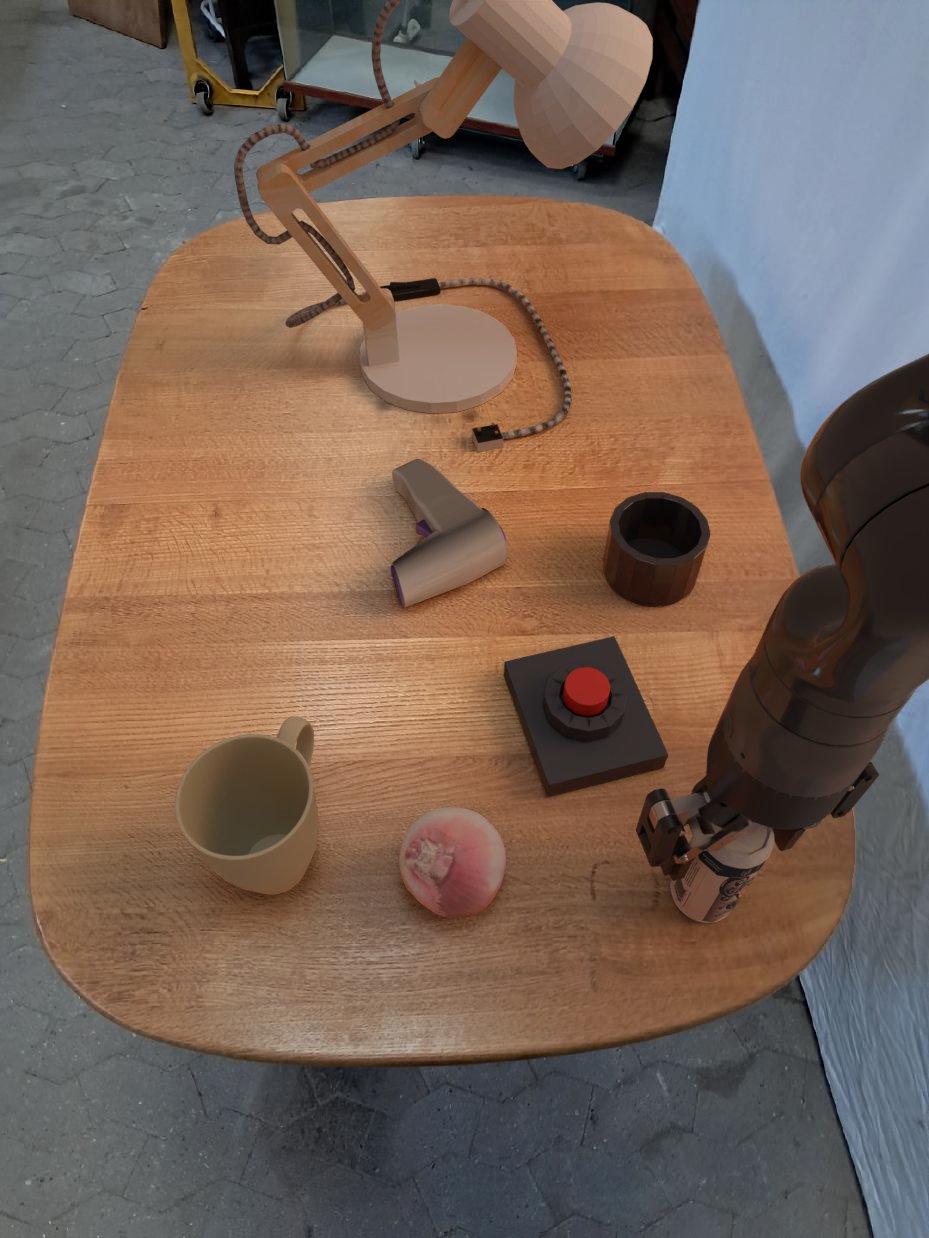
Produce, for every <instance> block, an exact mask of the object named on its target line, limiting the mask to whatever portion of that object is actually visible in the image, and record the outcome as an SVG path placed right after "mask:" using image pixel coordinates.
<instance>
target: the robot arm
mask: <svg viewBox="0 0 929 1238" xmlns="http://www.w3.org/2000/svg"><path fill="white" fill-rule="evenodd" d="M799 477H800V478H799V480H800V481H799V482H800V488H801V491H802V495H803V499H804V500H805V503H806V506H807V507H808V510H809V512H810V515H811V517H812V518H813V520H814V522H815V525H816V526H817V529H818V530H819V532H820V534H821V536H822V538H823V541H824V543H825V545H826V547H827V549H828V551H829V553H830V555H831V557H832V560H833V561H834V563H827V564H823V565H819V566H816V567H814V568H812V569H810V570H807V571H806V572H805V573H803V574H802V575H800V576H799V577H798V578H796V579H795V580H794V581H793V582H792V583H791V584H790V585H789V586H788V587H787V589H786V590H785V591H784V592H783V594H782V595H781V597H780V598H779V600H778V601H777V603H776V606H775V607H774V609H773V611H772V613H771V615H770V617H769V618H768V621H767V624H766V626H765V628H764V630H763V632H762V635H761V638H759V641H758V644H757V646H756V648H755V651H754V653H753V655H752V656H751V657H750V658H749V660H748V661H747V663H745V665H744V667H743V668H742V669H741V672H739V675H738V676H737V678H736V681H735V682H734V685H733V687H732V689H731V692H730V694H729V696H728V699H727V701H726V703H725V706H724V708H723V710H722V713H721V715H720V718H719V720H718V721H717V724H716V726H715V729H714V731H713V733H712V736H711V738H710V740H709V743H708V747H707V753H706V772H705V776H703V778H702V779H700V780H699V781H698V782H697V783H696V784H695V785H694V786H693V787H692V789H691V793H690V794H686V795H683V796H682V795H681V796H679V797H675V798H671V797H672V796H669V793H668V792H667V790H666V789H665V788H657V789H656V788H655V789H654V790H652V791H650V792H649V793H647V794H646V796H645V800H644V802H643V805H642V808H641V812H640V815H639V818H638V821H637V824H636V827H635V832H636V835H637V837H638V840H639V842H640V845H641V847H642V849H643V852H644V854H645V857H646V860H647V861H648V864H649V866H650V868H659V867H660V870H661V872H662V874H663V876H664V877H667V876H669V878H670V879H671V880H673V881H675V880H679V879H682V878H684V876H685V875H686V873H687V871H688V869H689V867H690V865H691V863H692V861H693V858H694V857H695V856H697V855H698V854H700V853H701V852H703V851H718V850H720V849H722V848H723V847H724V846H726V845H727V844H729V843H730V842H732V841H733V840H735V839H736V838H738V837H739V836H741V835H742V834H744V833H752V832H754V831H756V830H757V829H759V828H760V827H762V826H766V827H770V828H772V829H773V832H774V844H775V846H776V848H777V849H778V850H779V852H783V851H787V850H791V849H793V847H794V846H795V845H796V843H797V842H798V841H799V839H800V838H801V837H802V836H803V834H804V833H805V832H806V831H807V830H808V829H809V830H810V829H815V828H816V827H818V826H819V825H820V824H821V823H823V821H822V820H824V819H826V818H827V817H828V816H829V815H830V816H831V818H832V819H837V818H843V817H845V816H846V815H847V814H849V813H850V812H851V811H852V810H853V808H854V807H855V806H856V805H857V803H858V802H859V801H860V799H862V797H863V796H864V795H865V794H866V793H867V791H868V790H869V788H871V786H872V785H873V784H874V783H875V781H876V780H877V779H878V778H879V776H880V773H879V772H878V770H877V769H876V766H875V765H874V763H873V761H872V760H873V758H874V757H875V756H876V754H877V752H878V751H879V750H880V748H881V746H882V744H883V742H884V740H885V738H886V735H887V733H888V731H889V728H890V726H891V725H892V723H893V722H894V721H895V720H896V718H897V717H898V715H899V714H900V712H902V710H903V709H904V707H905V706H906V705H907V703H908V702H909V701H910V699H911V697H912V696H913V695H914V694H915V692H917V689H918V688H920V687H921V686H922V685H924V684H925V683H926V682H927V681H929V353H927V354H925V355H922V356H920V357H918V358H916V359H914V360H912V361H910V362H908V363H906V364H903V365H901V366H899V367H897V368H895V369H893V370H890V371H889V372H887V373H885V374H884V375H882V376H880V377H878V378H876V379H874V380H873V381H871V382H869V383H867V384H866V385H864V386H862V387H861V388H860V389H858V390H856V391H855V392H854V393H852V394H851V395H850V396H849V397H847V398H846V399H845V400H844V401H843V402H841V403H840V404H839V405H838V406H837V407H836V408H835V409H834V410H833V411H832V412H831V413H830V414H829V416H828V417H827V418H826V419H825V421H824V422H823V423H822V424H821V425H820V427H819V428H818V429H817V431H816V432H815V434H814V435H813V437H812V439H811V440H810V443H809V444H808V447H807V448H806V451H805V453H804V455H803V459H802V462H801V466H800V473H799ZM711 823H712V824H714V825H716V826H718V827H720V828H722V829H721V830H720V831H718V832H717V833H715V830H714V828H713V826H712V824H711ZM686 826H688V827H689V829H690V832H691V834H692V837H693V840H692V841H691V840H690V841H691V842H689V841H688V839H687V836H686V833H687V830H686V829H685V827H686Z"/></svg>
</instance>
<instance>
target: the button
mask: <svg viewBox="0 0 929 1238" xmlns="http://www.w3.org/2000/svg"><path fill="white" fill-rule="evenodd" d="M609 693H610V683H609V681H608V679H607V677H606V676H605V675H604V674H603V673H602V672H600V671H599V670H597V669H594V668H590V667H582V668H578V669H575V670H574V671H572V672H571V673H570V674H569V675H568V676H567V678H566V680H565V685H564V692H563V699H564V702H565V704H566V706H567V707H568V708H569V709H570V710H571V711H572V712H574V713H575V714H578V715H581V716H593V715H596V714H598V713H600V712H601V711H602V710H603V709H604V708H605V707H606V705H607V701H608V697H609Z"/></svg>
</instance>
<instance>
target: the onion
mask: <svg viewBox="0 0 929 1238" xmlns="http://www.w3.org/2000/svg"><path fill="white" fill-rule="evenodd" d="M398 865H399V871H400V876H401V879H402V881H403V884H404V886H405V888H406V889H407V890H408V891H409V893H410V894H411V895H412V896H413V897H414V899H416V900H417V901H418V903H420V904H421V905H423V907H425V908H426V909H428V910H429V911H431V912H432V913H434V914H436V915H437V916H439V917H442V918H448V919H461V918H462V919H463V918H466V917H467V918H468V917H471V916H474V915H476V914H477V913H480V912H481V911H483V910H484V909H485V908H487V907H488V906H489V905H490V904H492V902H493V900H494V898H495V897H496V896H497V894H498V893H499V890H500V888H501V886H502V884H503V881H504V879H505V875H506V870H507V852H506V847H505V843H504V841H503V839H502V836H501V834H500V833H499V832H498V831H497V829H496V828H495V826H494V825H492V823H491V822H490V821H489V820H488V819H486V818H485V817H484V816H483V815H482V814H481V813H479V812H477V811H474V810H471V809H468V808H465V807H456V806H450V807H449V806H446V807H445V806H444V807H439V808H435V809H432V810H429V811H427V812H426V813H424V814H423V815H421V816H419V817H418V818H417V819H416V820H415V821H414V822H413V823H412V824H411V826H410V827H409V828H408V829H407V831H406V833H405V835H404V836H403V838H402V841H401V844H400V846H399V851H398Z"/></svg>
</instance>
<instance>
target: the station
mask: <svg viewBox="0 0 929 1238" xmlns="http://www.w3.org/2000/svg"><path fill="white" fill-rule="evenodd" d="M582 667H590V668H594V669H597V670H599V671H600V672H602V673H603V674H604V675H605V676H606V677H607V679H608V681H609V683H610V693H609V697H608V701H607V705H606V707H605V708H604V709H603V710H602V711H601V712H600V713H598V714H596V715H593V716H581V715H578V714H575V713H574V712H572V711H571V710H570V709H569V708H568V707H567V706H566V704H565V702H564V699H563V692H564V685H565V680H566V678H567V676H568V675H569V674H570V673H571V672H572V671H574V670H575V669H578V668H582ZM503 677H504V680H505V683H506V686H507V689H508V693H509V694H510V698H511V701H512V704H513V706H514V708H515V711H516V714H517V718H518V720H519V723H520V726H521V729H522V731H523V735H524V737H525V740H526V742H527V747H528V749H529V751H530V754H531V757H532V760H533V762H534V765H535V768H536V771H537V774H538V777H539V780H540V782H541V785H542V788H543V790H544V794H545V796H546V798H550V797H554V796H558V795H561V794H566V793H569V792H574V791H578V790H582V789H585V788H589V787H593V786H597V785H601V784H605V783H608V782H613V781H616V780H620V779H624V778H628V777H632V776H635V775H639V774H644V773H648V772H651V771H655V770H660V769H662V768H665V765H666V763H667V760H668V758H669V752H668V750H667V749H666V746H665V744H664V742H663V739H662V737H661V735H660V733H659V731H658V728H657V726H656V725H655V721H654V720H653V718H652V715H651V713H650V711H649V709H648V707H647V704H646V702H645V699H644V698H643V696H642V693H641V691H640V689H639V686H638V684H637V682H636V680H635V678H634V676H633V674H632V671H631V669H630V667H629V665H628V662H627V661H626V658H625V656H624V654H623V651H622V650H621V647H620V645H619V643H618V641H617V638H616V636H609V637H604V638H601V639H596V640H592V641H587V642H583V643H580V644H573V645H570V646H565V647H561V648H556V649H553V650H548V651H544V652H539V653H536V654H531V655H526V656H522V657H518V658H514V659H509V660H505V661H504V664H503Z"/></svg>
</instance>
